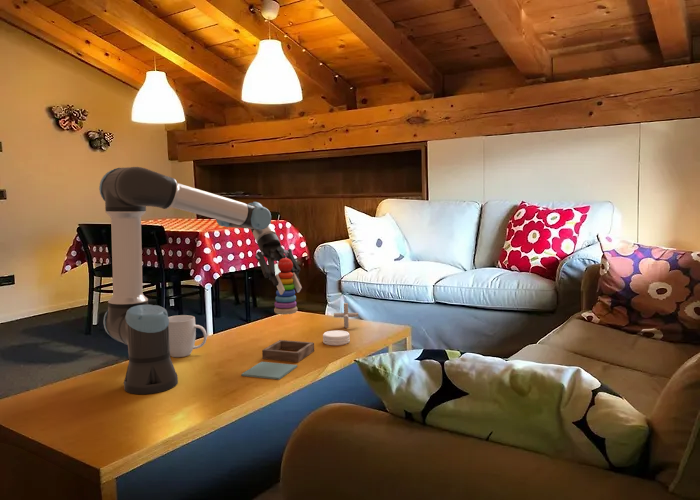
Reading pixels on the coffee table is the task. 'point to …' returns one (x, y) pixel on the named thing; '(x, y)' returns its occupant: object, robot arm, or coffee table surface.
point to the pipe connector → (346, 315)
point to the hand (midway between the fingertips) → (291, 291)
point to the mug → (183, 335)
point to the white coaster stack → (336, 337)
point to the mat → (269, 370)
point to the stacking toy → (286, 289)
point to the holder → (276, 354)
